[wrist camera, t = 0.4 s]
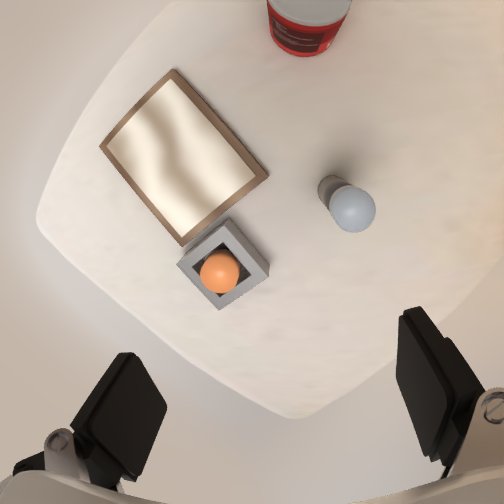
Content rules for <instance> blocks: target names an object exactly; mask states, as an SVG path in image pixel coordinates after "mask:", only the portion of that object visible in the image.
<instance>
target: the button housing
mask: <svg viewBox="0 0 504 504" xmlns="http://www.w3.org/2000/svg"><path fill="white" fill-rule="evenodd" d="M222 242H224V244H225V245H226V246H227V247H228V248H229V249H230V251H231V252H232V253H233V254H234V255H235V256H236V257H237V259H238V260H239V261H240V262H241V263H242V264H243V266H244V267H245V268H246V270H245V271H243V272H242V273H240V274H239V277H238V280H237V283H236V285H235V287H234V288H233V289H232V290H230V291H229V292H226V293H215V292H213V291H210V290H209V289H207V288H206V287H205V286H204V284H203V283H202V281H201V278H200V271H201V268H202V266H203V264H204V261H203V260H202V258H203V257H204V256H206V255H207V254H208V253H209V252H211V251H212V250H213V249H215V248H216V247H217V246H218V245H220V244H221V243H222ZM176 265H177V266H178V267H179V268H180V269H181V271H182V272H183V273H184V274H185V275H186V276H187V277H188V278H189V279H190V280H191V281H192V283H193V284H194V285H195V286H196V287H197V288H198V289H199V290H200V291H201V292H202V293H203V294H204V296H205V297H206V298H207V299H208V300H209V301H210V302H211V303H212V304H213V305H214V306H215V307H216V308H217V309H218V310H221V309H222V308H224V307H225V306H227V305H228V304H230V303H231V302H233V301H234V300H236V299H237V298H239V297H240V296H242V295H243V294H245V293H246V292H247V291H249V290H250V289H252V288H253V287H255V286H256V285H258V284H259V283H261V282H262V281H264V280H265V279H267V278H268V277H269V266H270V265H269V264H268V263H267V262H266V261H265V259H264V258H263V257H262V256H261V255H260V253H259V252H258V251H257V250H256V249H255V247H254V246H253V245H252V244H251V243H250V242H249V240H248V239H247V238H246V237H245V236H244V234H243V233H242V232H241V231H240V230H239V228H238V227H237V226H236V225H235V224H234V223H233V221H232V220H231V219H230V218H228V219H227V220H226V221H225V222H223V223H222V224H221V225H220V226H218V227H217V228H216V229H215V230H214V231H212V232H211V233H210V234H209V235H207V236H206V237H205V238H204V239H203V240H201V241H200V242H199V243H198V244H196V245H195V246H194V247H193V248H192V249H190V250H189V251H188V252H187V253H186V254H185V255H184V256H183V257H182V258H181V259H180V261H179V262H178V263H177V264H176Z"/></svg>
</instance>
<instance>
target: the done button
mask: <svg viewBox="0 0 504 504" xmlns="http://www.w3.org/2000/svg"><path fill="white" fill-rule="evenodd" d="M240 271H241V263H240V261H239V260H238V259H237V257H236V256H235V255H234V254H233V253H232V252H231V251H229V250H225V249H219V250H216V251H213V252H212V253H211V254H210V255H209V256H208V258H207V259H206V261H205V263H204V264H203V266H202V268H201V271H200V278H201V281H202V283H203V284H204V286H205V287H206V288H207V289H209V290H210V291H213V292H215V293H226V292H229V291H230V290H232V289H233V288H234V287H235V285H236V283H237V280H238V277H239V274H240Z"/></svg>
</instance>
